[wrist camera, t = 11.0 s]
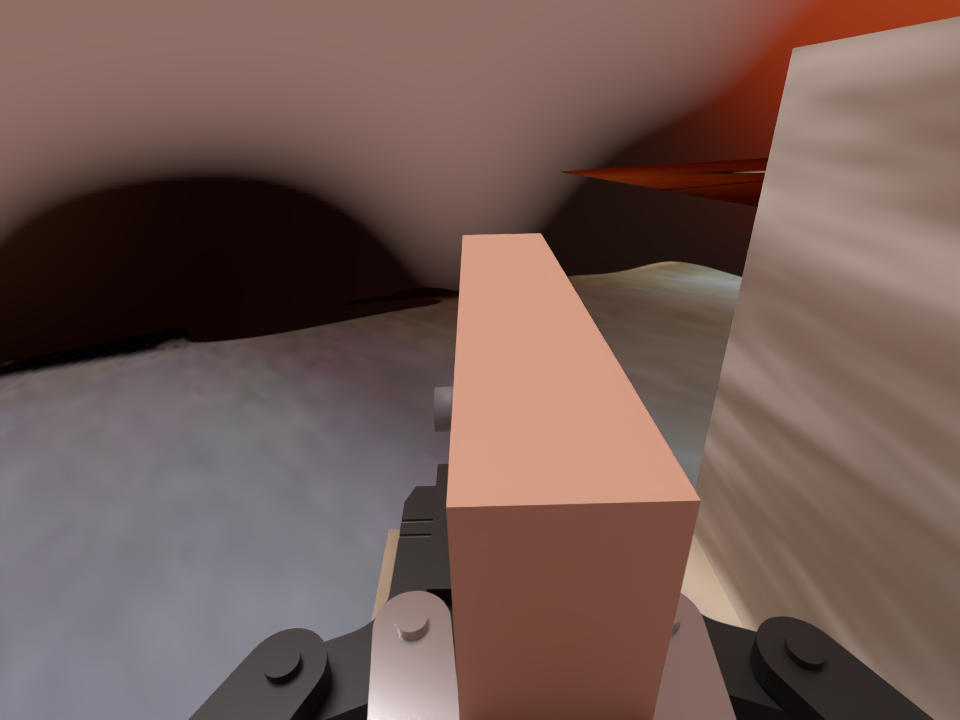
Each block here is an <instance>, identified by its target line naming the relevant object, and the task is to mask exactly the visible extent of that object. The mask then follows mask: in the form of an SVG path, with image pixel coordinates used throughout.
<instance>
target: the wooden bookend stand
mask: <svg viewBox="0 0 960 720" xmlns="http://www.w3.org/2000/svg"><path fill="white" fill-rule="evenodd" d="M695 492H696V493H697V495H698V497H699V498H700V500H701V502H700V506H699V511H698V516H697V520H696V525H695V529H694V534H693V538H692V543H691V547H690V552H689V557H688V561H687V566H686V570H685V575H684V579H683V584H682V588H681V593H682V594H683V595H685V596H686V597H688V598H689V599H690V600H691V601H692V602H693V603H694V604H695V606H696V607H697V608H698V610H699V611H700V613H701V614H703V615H705V616H706V617H709V618H711V619H713V620H716V621H719V622H722V623H725V624H729V625H733V626H737V627H741V628H745V629H749V630H752V631H756V632H757V630H758V628H759V626H760V625H761V623H763V622H764V621H765V620H767V619H769V618H772V617H778V616H785V617H792V618H796V619H800V620H802V621H805V622H807V623H810V624H812V625H814V626H815V627H817V628H819V629H820V630H822V631H823V632H825V633H826V634H827V635H829V636H830V637H831V638H833V639H834V640H835V641H836V642H838V643H839V644H840V645H841V646H843V647H844V648H845V649H846V650H848V651H849V652H850V653H851V654H853V655H854V656H855V657H856V658H858V659H859V660H860V661H861V662H863V663H864V664H865V665H866V666H868V667H869V668H870V669H871V670H873V671H874V672H875V673H876V674H878V675H879V676H880V677H881V678H883V679H884V680H885V681H886V682H888V683H889V684H890V685H891V686H893V687H894V688H895V689H896V690H898V691H899V692H900V693H901V694H903V695H904V696H905V697H906V698H908V699H909V700H910V701H911V702H913V703H914V704H915V705H917V706H918V707H919V708H920V709H922V710H923V711H924V712H925V713H927V714H928V715H929V716H930V717H932V718H933V719H934V720H960V17H955V18H951V19H945V20H939V21H935V22H929V23H924V24H919V25H913V26H908V27H903V28H898V29H893V30H887V31H882V32H877V33H871V34H866V35H862V36H856V37H850V38H845V39H840V40H835V41H830V42H825V43H819V44H814V45H809V46H803V47H799V48H793V51H792V56H791V60H790V65H789V69H788V74H787V78H786V83H785V88H784V92H783V96H782V101H781V105H780V110H779V115H778V119H777V124H776V128H775V132H774V137H773V142H772V146H771V150H770V155H769V159H768V164H767V168H766V173H765V177H764V182H763V186H762V191H761V195H760V200H759V204H758V209H757V214H756V218H755V222H754V227H753V232H752V236H751V241H750V245H749V250H748V254H747V259H746V263H745V268H744V272H743V276H742V281H741V285H740V290H739V294H738V299H737V303H736V308H735V312H734V317H733V321H732V326H731V330H730V335H729V339H728V344H727V348H726V353H725V357H724V362H723V366H722V371H721V375H720V380H719V384H718V389H717V393H716V398H715V403H714V407H713V412H712V416H711V421H710V425H709V430H708V434H707V439H706V443H705V448H704V452H703V457H702V461H701V466H700V470H699V475H698V479H697V484H696V488H695ZM399 533H400V529H396V530H389V532H388V537H387V542H386V548H385V553H384V558H383V563H382V568H381V573H380V579H379V584H378V589H377V594H376V599H375V604H374V610H373V615H372V620H374V619H375V618H376V616H377V614H378V612H379V610H380V609H381V608H382V607H383V605H385V604H386V602H387V600H388V597H389V593H390V587H391V581H392V575H393V569H394V563H395V557H396V551H397V545H398V539H399ZM372 620H371V621H372Z"/></svg>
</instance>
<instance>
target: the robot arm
mask: <svg viewBox="0 0 960 720" xmlns="http://www.w3.org/2000/svg"><path fill="white" fill-rule="evenodd" d="M448 470H449V464H438V470H437V481H436V486H416V487H415V489H414V490H413V492H412V493H411V494H410V496H409V497H408V498H407V500H406V501H405V504H404V510H403V516H402V523H401V527H400V533H399V539H398V545H397V551H396V557H395V563H394V569H393V575H392V581H391V587H390V593H389V597H388V600H387V602H386V604H385V605H383V607H382V608H381V609H380V610H379V612H378V614H377V616H376V618H375V619H374V620H372V621H371V622H370V623H369V624H367V625H366V626H364V627H363V628H361V629H359V630H357V631H354V632H352V633H349V634H346V635H343V636H340V637H337V638H335V639H332V640H329V641H326V642H323V640H322V639H321V637H320V636H319V635H317V634H316V633H314V632H313V631H310V630H307V629H302V628H294V629H287V630H284V631H281V632H278V633H276V634H274V635H272V636H270V637H268V638H267V639H265V640H264V641H263V642H261V643H260V644H259V645H258V646H257V647H256V648H255V649H254V650H253V651H252V652H251V653H250V654H249V655H248V656H247V657H246V658H245V659H244V660H243V662H242V663H241V664H240V665H239V666H238V667H237V668H236V669H235V670H234V671H233V672H232V673H231V674H230V676H229V677H228V678H227V679H226V680H225V681H224V682H223V683H222V684H221V685H220V686H219V687H218V688H217V690H216V691H215V692H214V693H213V694H212V695H211V696H210V697H209V698H208V699H207V700H206V701H205V702H204V704H203V705H202V706H201V707H200V708H199V709H198V710H197V711H196V712H195V713H194V714H193V715H192V717H191V718H190V719H189V720H459V704H458V688H457V672H456V656H455V640H454V624H453V608H452V592H451V576H450V560H449V544H448V529H447V513H446V502H447V486H448ZM653 720H934V719H933V718H932V717H930V716H929V715H928V714H927V713H925V712H924V711H923V710H922V709H920V708H919V707H918V706H917V705H915V704H914V703H913V702H911V701H910V700H909V699H908V698H906V697H905V696H904V695H903V694H901V693H900V692H899V691H898V690H896V689H895V688H894V687H893V686H891V685H890V684H889V683H888V682H886V681H885V680H884V679H883V678H881V677H880V676H879V675H878V674H876V673H875V672H874V671H873V670H871V669H870V668H869V667H868V666H866V665H865V664H864V663H863V662H861V661H860V660H859V659H858V658H856V657H855V656H854V655H853V654H851V653H850V652H849V651H848V650H846V649H845V648H844V647H843V646H841V645H840V644H839V643H838V642H836V641H835V640H834V639H833V638H831V637H830V636H829V635H827V634H826V633H825V632H823V631H822V630H820V629H819V628H817V627H815V626H814V625H812V624H810V623H807V622H805V621H802V620H800V619H796V618H792V617H785V616H778V617H772V618H769V619H767V620H765V621H764V622H763V623H761V625H760V626H759V628H758V630H757V632H756V631H752V630H749V629H745V628H741V627H737V626H733V625H729V624H725V623H722V622H719V621H716V620H713V619H711V618H709V617H706V616H705V615H703V614H701V613H700V611H699V610H698V608H697V607H696V606H695V604H694V603H693V602H692V601H691V600H690V599H689V598H688V597H686V596H685V595H683V594H682V593H680V598H679V602H678V607H677V611H676V616H675V620H674V625H673V629H672V634H671V639H670V643H669V648H668V652H667V657H666V661H665V666H664V670H663V675H662V679H661V684H660V689H659V693H658V698H657V702H656V707H655V711H654V716H653Z"/></svg>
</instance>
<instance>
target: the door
mask: <svg viewBox="0 0 960 720" xmlns="http://www.w3.org/2000/svg"><path fill="white" fill-rule="evenodd" d="M434 423H435V431H436V432H446V431H451V437H450V453H449V470H448V486H447V502H446V513H447V529H448V544H449V560H450V576H451V592H452V608H453V624H454V640H455V656H456V672H457V688H458V704H459V720H653V716H654V711H655V707H656V702H657V698H658V693H659V689H660V684H661V679H662V675H663V670H664V666H665V661H666V657H667V652H668V648H669V643H670V639H671V634H672V629H673V625H674V620H675V616H676V611H677V607H678V602H679V598H680V593H681V588H682V584H683V579H684V575H685V570H686V566H687V561H688V557H689V552H690V547H691V543H692V538H693V534H694V529H695V525H696V520H697V516H698V511H699V506H700V502H701V500H700V498H699V497H698V495H697V493H696V492H695V490H694V488H693V487H692V485H691V483H690V482H689V480H688V478H687V477H686V475H685V473H684V472H683V470H682V468H681V467H680V465H679V463H678V462H677V460H676V458H675V457H674V455H673V453H672V452H671V450H670V448H669V447H668V445H667V443H666V442H665V440H664V438H663V437H662V435H661V433H660V432H659V430H658V428H657V427H656V425H655V423H654V422H653V420H652V418H651V417H650V415H649V413H648V412H647V410H646V408H645V407H644V405H643V403H642V402H641V400H640V398H639V396H638V395H637V393H636V391H635V390H634V388H633V386H632V385H631V383H630V381H629V380H628V378H627V376H626V375H625V373H624V371H623V370H622V368H621V366H620V365H619V363H618V361H617V360H616V358H615V356H614V355H613V353H612V351H611V350H610V348H609V346H608V345H607V343H606V341H605V340H604V338H603V336H602V335H601V333H600V331H599V330H598V328H597V326H596V325H595V323H594V321H593V320H592V318H591V316H590V315H589V313H588V311H587V310H586V308H585V306H584V305H583V303H582V301H581V300H580V298H579V296H578V295H577V293H576V291H575V290H574V288H573V286H572V285H571V283H570V281H569V280H568V278H567V276H566V275H565V273H564V271H563V270H562V268H561V266H560V265H559V263H558V262H557V260H556V258H555V256H554V255H553V253H552V251H551V250H550V248H549V246H548V245H547V243H546V241H545V240H544V238H543V236H542V235H541V234H540V233H539V234H496V235H463V243H462V258H461V275H460V291H459V307H458V323H457V340H456V356H455V372H454V387H435V390H434Z"/></svg>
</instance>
